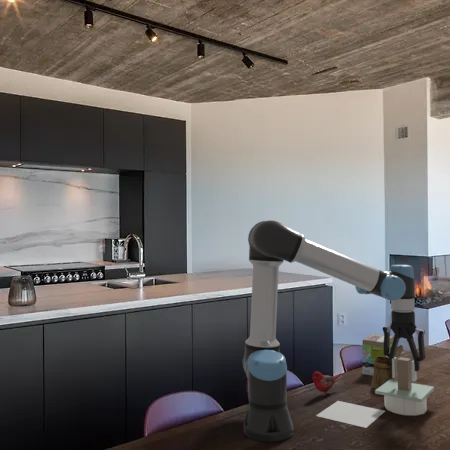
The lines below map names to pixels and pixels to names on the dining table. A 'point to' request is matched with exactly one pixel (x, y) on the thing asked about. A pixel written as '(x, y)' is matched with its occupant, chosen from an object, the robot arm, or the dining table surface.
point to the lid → (404, 384)
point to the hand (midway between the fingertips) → (404, 378)
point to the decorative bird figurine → (323, 381)
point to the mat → (351, 414)
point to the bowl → (405, 406)
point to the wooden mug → (383, 369)
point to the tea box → (373, 351)
